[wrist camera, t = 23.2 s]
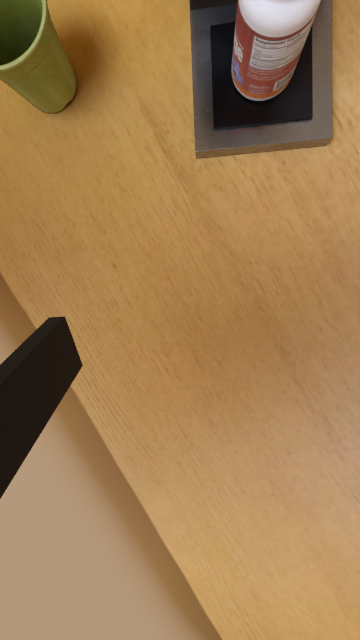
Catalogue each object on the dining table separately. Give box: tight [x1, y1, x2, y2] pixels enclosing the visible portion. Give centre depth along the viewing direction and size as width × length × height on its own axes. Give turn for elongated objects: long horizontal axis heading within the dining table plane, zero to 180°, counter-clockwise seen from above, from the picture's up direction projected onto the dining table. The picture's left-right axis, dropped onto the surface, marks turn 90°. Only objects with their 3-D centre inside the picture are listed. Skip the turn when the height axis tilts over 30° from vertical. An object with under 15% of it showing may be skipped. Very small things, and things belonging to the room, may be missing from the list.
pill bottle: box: [231, 0, 321, 101], centre depth 23 cm, size 6×6×11 cm
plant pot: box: [0, 0, 76, 113], centre depth 28 cm, size 9×9×9 cm
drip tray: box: [190, 0, 332, 158], centre depth 29 cm, size 14×14×2 cm
